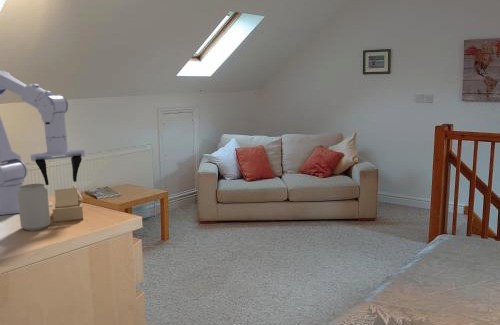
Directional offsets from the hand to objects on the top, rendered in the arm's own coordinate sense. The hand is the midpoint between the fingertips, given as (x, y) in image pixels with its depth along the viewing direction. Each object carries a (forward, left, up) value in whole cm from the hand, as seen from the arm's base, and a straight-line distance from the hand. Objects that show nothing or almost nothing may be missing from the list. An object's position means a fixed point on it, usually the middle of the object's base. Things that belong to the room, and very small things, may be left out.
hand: (61, 182), depth 139 cm
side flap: (-2, +4, -4) cm, 6 cm away
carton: (-2, -1, -10) cm, 11 cm away
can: (+8, -7, -11) cm, 15 cm away
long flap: (+4, +1, -4) cm, 6 cm away
